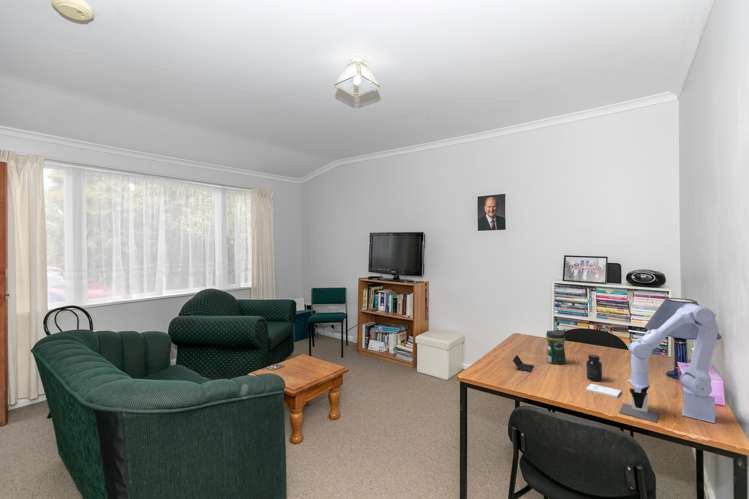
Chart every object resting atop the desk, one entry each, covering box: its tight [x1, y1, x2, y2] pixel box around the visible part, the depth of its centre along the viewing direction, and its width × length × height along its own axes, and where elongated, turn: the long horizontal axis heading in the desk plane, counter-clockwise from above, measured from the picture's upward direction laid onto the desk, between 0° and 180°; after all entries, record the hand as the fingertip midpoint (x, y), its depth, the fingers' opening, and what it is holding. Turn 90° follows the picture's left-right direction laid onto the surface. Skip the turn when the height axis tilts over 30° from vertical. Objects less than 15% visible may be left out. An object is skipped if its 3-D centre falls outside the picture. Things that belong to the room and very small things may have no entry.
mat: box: [618, 402, 660, 423], centre depth 144 cm, size 12×11×1 cm
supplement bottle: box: [585, 354, 603, 383], centre depth 180 cm, size 7×7×12 cm
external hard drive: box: [585, 383, 622, 399], centre depth 165 cm, size 2×8×12 cm
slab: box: [631, 392, 649, 412], centre depth 146 cm, size 5×3×7 cm, turn 48°
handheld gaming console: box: [512, 354, 534, 373], centre depth 197 cm, size 12×7×10 cm
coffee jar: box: [545, 330, 567, 365], centre depth 205 cm, size 10×8×19 cm
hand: (639, 404), depth 146 cm, fingers open, 7 cm apart
